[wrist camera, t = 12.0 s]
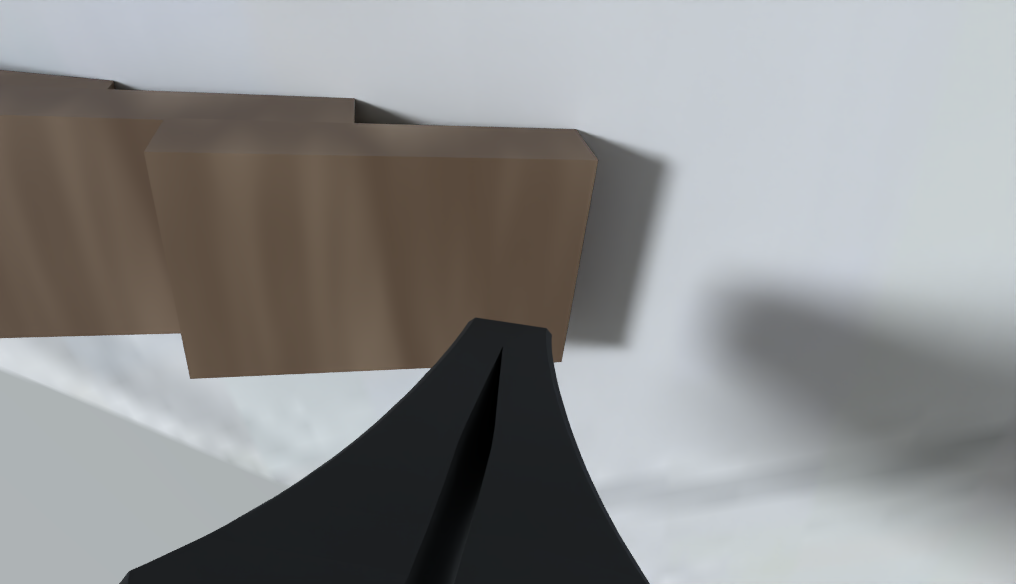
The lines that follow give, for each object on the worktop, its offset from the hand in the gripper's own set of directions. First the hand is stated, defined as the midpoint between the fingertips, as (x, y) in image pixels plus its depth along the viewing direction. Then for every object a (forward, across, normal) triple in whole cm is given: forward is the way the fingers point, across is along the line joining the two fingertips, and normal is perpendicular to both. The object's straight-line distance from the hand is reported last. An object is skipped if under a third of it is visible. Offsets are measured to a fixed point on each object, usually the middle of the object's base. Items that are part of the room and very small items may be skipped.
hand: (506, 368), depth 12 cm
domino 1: (+4, +4, 0) cm, 6 cm away
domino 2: (+4, -1, 0) cm, 4 cm away
